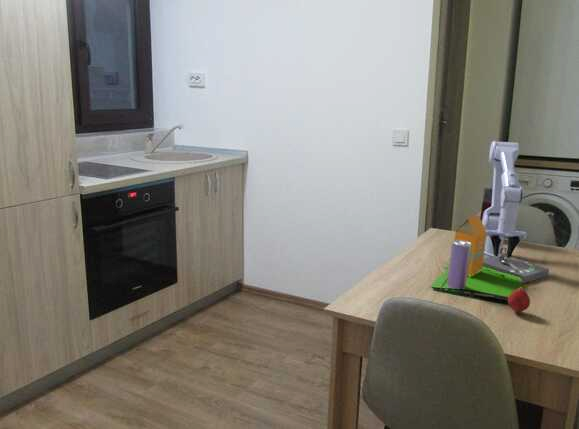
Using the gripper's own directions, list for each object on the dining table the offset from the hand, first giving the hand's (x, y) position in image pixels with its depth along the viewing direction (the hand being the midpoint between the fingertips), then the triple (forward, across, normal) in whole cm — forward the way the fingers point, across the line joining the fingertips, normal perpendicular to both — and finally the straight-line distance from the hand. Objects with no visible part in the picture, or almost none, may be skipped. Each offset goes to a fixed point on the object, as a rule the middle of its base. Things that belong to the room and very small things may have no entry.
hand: (502, 255), depth 194 cm
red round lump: (+4, -12, -42) cm, 44 cm away
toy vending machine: (+4, +11, +36) cm, 38 cm away
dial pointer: (+1, 0, -6) cm, 6 cm away
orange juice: (+4, -16, -8) cm, 18 cm away
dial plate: (+4, +2, -5) cm, 7 cm away
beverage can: (+4, -24, -24) cm, 34 cm away
